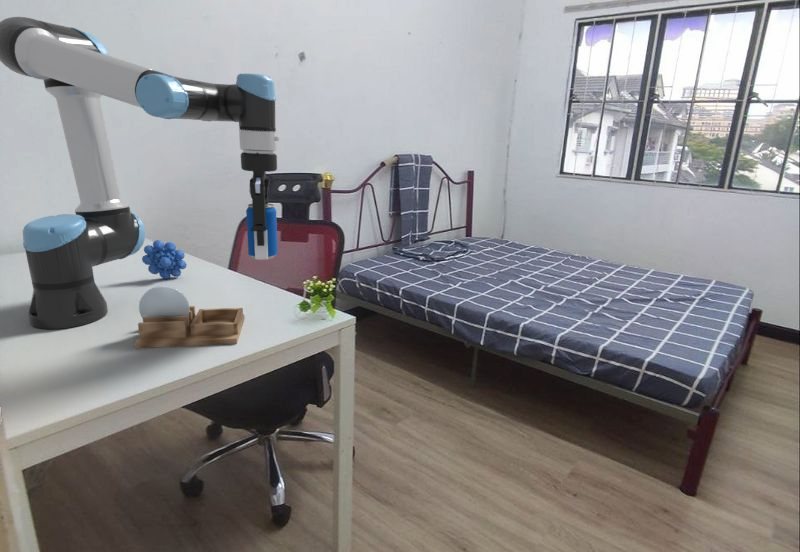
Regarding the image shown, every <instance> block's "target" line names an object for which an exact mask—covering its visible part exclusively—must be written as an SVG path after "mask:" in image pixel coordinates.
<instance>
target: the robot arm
mask: <svg viewBox="0 0 800 552" xmlns="http://www.w3.org/2000/svg"><path fill="white" fill-rule="evenodd" d="M0 63H2V64H3V65H4V66H5V67H7V68H8V69H9V70H10V71H12V72H15V73H17V74H18V75H22V76H25V77H29V78H33V79H37V80H43V84H44V88H45V91H46V92H47V93H49V94H50V95H51V96H52V97H54V99H55V100H56V105H57V108H58V113H59V116H60V117H59V119H60V122H61V125H62V129H63V134H64V138H65V142H66V143H65V144H66V146H67V150H68V156H69V158H70V159H69V160H70V164H71V168H72V172H73V177H74V181H75V185H76V189H77V192H78V193H77V194H78V197H79V201H80V202H79V204H78V206H77V207H76V208H75V209H74V213H75V214H73V213H71V214H70V213H67V214H66V213H65V214H57V215H49V216H43V217H41V218H38V219H37V218H36V219H34V220H32V221H30V222H28V223H27V224H25V225H24V227H23V229H22V237H23V238H22V241H23V243H22V245H23V248H24V251H25V254H26V259H27V260H26V261H27V263H28V264H27V265H28V270H29V275H30V280H31V284H32V288H33V289H32V290H33V291H32V295H31V300H30V305H29V310H28V319H29V323H30V326H32V327H34V328H36V329H44V330H45V329H46V330H60V329H68V328H75V327H80V326H83V325H84V326H85V325H87V324H91V323H94V322H95V321H98V320H100V319H102V318H104V317H105V316H106V315H107V314H108V311H109V310H108V309H109V308H108V303H107V301H106V299H105V298H104V296H103V294H102V292H101V290H100V289H99V287H98V285H97V284H96V282H95V277H94V271H93V270H94V269H93V267H96V266H100V265H103V264H106V263H110V262H113V261H117V260H123V259H127V258H128V257H129V256H132V255H134V254H136V253H138V251H140V249H141V248H142V247H143V245H144V244H145V240H146V230H145V229H146V228H145V225H144V222H143V220H141V219H140V218H139V216H138V215H137V214H136V213H134V212H133V211H131V208H130V205H129V204H128V203H127V202H125V201H124V200H123V199H122V198H121V193H120V189H119V184H118V179H117V174H116V170H115V166H114V161H113V156H112V152H111V151H112V150H111V146H110V142H109V138H108V133H107V128H106V121H105V118H104V113H103V110H102V105H101V97H102V96H105V97H107V98H110V99H112V100H113V99H114V100H117V101H120V102H123V103H126V104H129V105H132V106H135V107H138V108H141V109H143V111H144V112H145V113H146V114H148V115H149V116H151V117H156V118H160V119H164V120H174V119H175V120H176V119H178V120H194V121H203V122H234V123H238V126H239V127H238V128H239V130H238V133H239V134H238V136H239V149H240V150H241V153H240V166H241V167H240V168H241V170H243V171H245V172H252V178H250V179H249V187H250V198H251V202H252V203H251V204H252V207H253V228H250V229H251V231H254V242H255V259H254V260H259V259H265V260H269V259H268V243H267V227H266V207H267V206H266V204H267V203H268V204H269V196H270V185H271V184H270V183H271V182H270V178H268V177H267V172H268V173H269V172H271V173H272V172H276V171H277V170H278V156H277V154H276V153H274V152H276V151H277V143H276V142H279V141H280V138H279V136H276V135H277V133H276V131H277V130H276V129H277V128H276V101H277V100H276V99H277V98H276V95H275V94H276V93H275V91H276V90H275V82H274V79H273V78H272V77H270V76H269V75H267V74H266V75H264V74H259V73H247V72H246V73H239V74H237V75H236V83H234V84H227V83H226V84H225V83H213V82H212V83H211V82H208V81H207V82H205V81H199V80H193V79H189V78H188V79H187V78H182V77H178V76H173V75H170V74H167V73H164V72H161V71H156V70H155V69H151V68H148V67H144V66H142V65H138V64H135V63H132V62H129V61H125V60H123V59H119V58H117V57H113V56H110V55H109V53H108V51H107V49H106V47H105V45H103V44H102V42H101V41H100V40H99V39H98V38H97V37H95V36H94V35H92V34H91V33H89V32H86V31H83V30H80V29H78V28H76V27H69V26H64V25H60V24H57V23H56V24H55V23H51V22H46V21H42V20H38V19H34V18H32V17H26V16H11V17H7V18H4V19H3V20H1V21H0Z"/></svg>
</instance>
